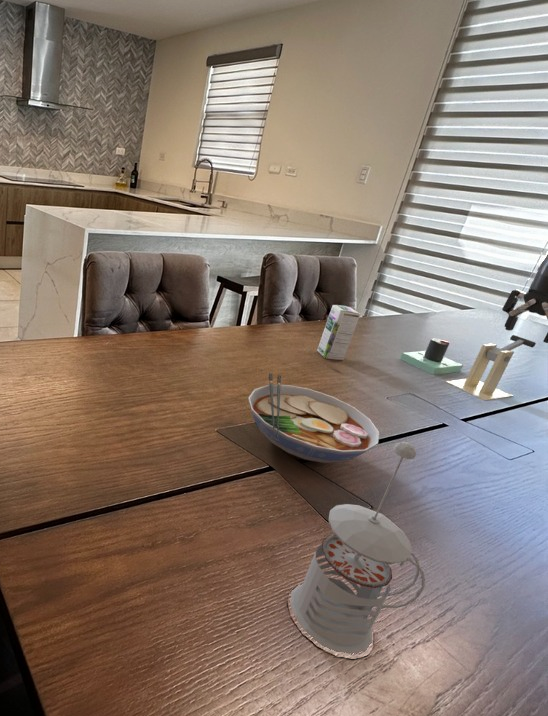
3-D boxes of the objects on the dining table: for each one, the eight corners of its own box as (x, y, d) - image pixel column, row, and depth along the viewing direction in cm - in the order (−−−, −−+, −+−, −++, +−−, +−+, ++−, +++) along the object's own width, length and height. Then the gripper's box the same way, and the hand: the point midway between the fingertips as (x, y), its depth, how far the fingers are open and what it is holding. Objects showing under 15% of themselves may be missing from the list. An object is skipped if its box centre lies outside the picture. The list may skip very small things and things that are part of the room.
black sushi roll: (423, 358, 134) (431, 339, 132) (423, 354, 138) (431, 335, 135) (441, 363, 132) (450, 344, 130) (441, 358, 136) (449, 340, 133)
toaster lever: (512, 340, 125) (515, 332, 124) (534, 348, 121) (536, 340, 119) (480, 356, 122) (482, 348, 121) (500, 364, 118) (503, 356, 117)
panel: (425, 359, 142) (429, 350, 141) (458, 374, 134) (463, 364, 133) (398, 362, 138) (402, 352, 137) (431, 377, 130) (436, 367, 128)
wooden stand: (471, 381, 130) (491, 339, 125) (511, 399, 122) (534, 355, 117) (443, 385, 126) (463, 341, 121) (482, 404, 117) (506, 357, 112)
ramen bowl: (377, 508, 75) (395, 467, 72) (233, 464, 82) (244, 425, 79) (356, 431, 97) (369, 397, 94) (244, 402, 104) (253, 368, 101)
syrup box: (316, 350, 139) (331, 304, 133) (335, 352, 139) (351, 306, 133) (324, 358, 133) (340, 310, 128) (344, 361, 134) (361, 313, 128)
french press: (283, 572, 61) (345, 408, 52) (380, 603, 59) (464, 435, 49) (289, 641, 53) (364, 458, 43) (403, 680, 50) (511, 495, 40)
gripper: (602, 282, 110) (568, 346, 117) (532, 267, 122) (504, 325, 128) (585, 283, 107) (551, 348, 114) (515, 267, 119) (488, 326, 126)
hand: (526, 336), depth 121 cm, fingers open, 8 cm apart
